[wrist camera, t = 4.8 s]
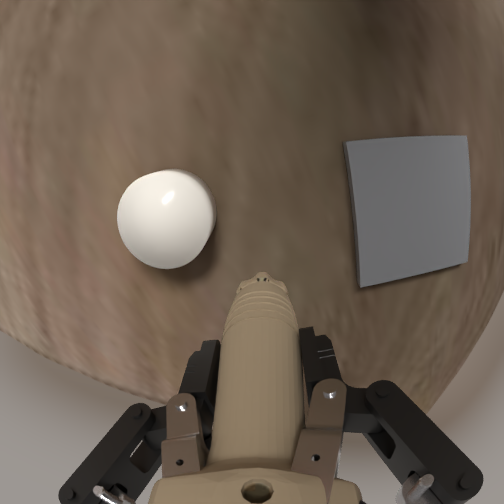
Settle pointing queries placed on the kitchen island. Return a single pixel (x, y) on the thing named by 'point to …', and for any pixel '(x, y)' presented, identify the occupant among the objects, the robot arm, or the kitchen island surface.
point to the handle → (256, 412)
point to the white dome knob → (166, 217)
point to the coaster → (408, 205)
